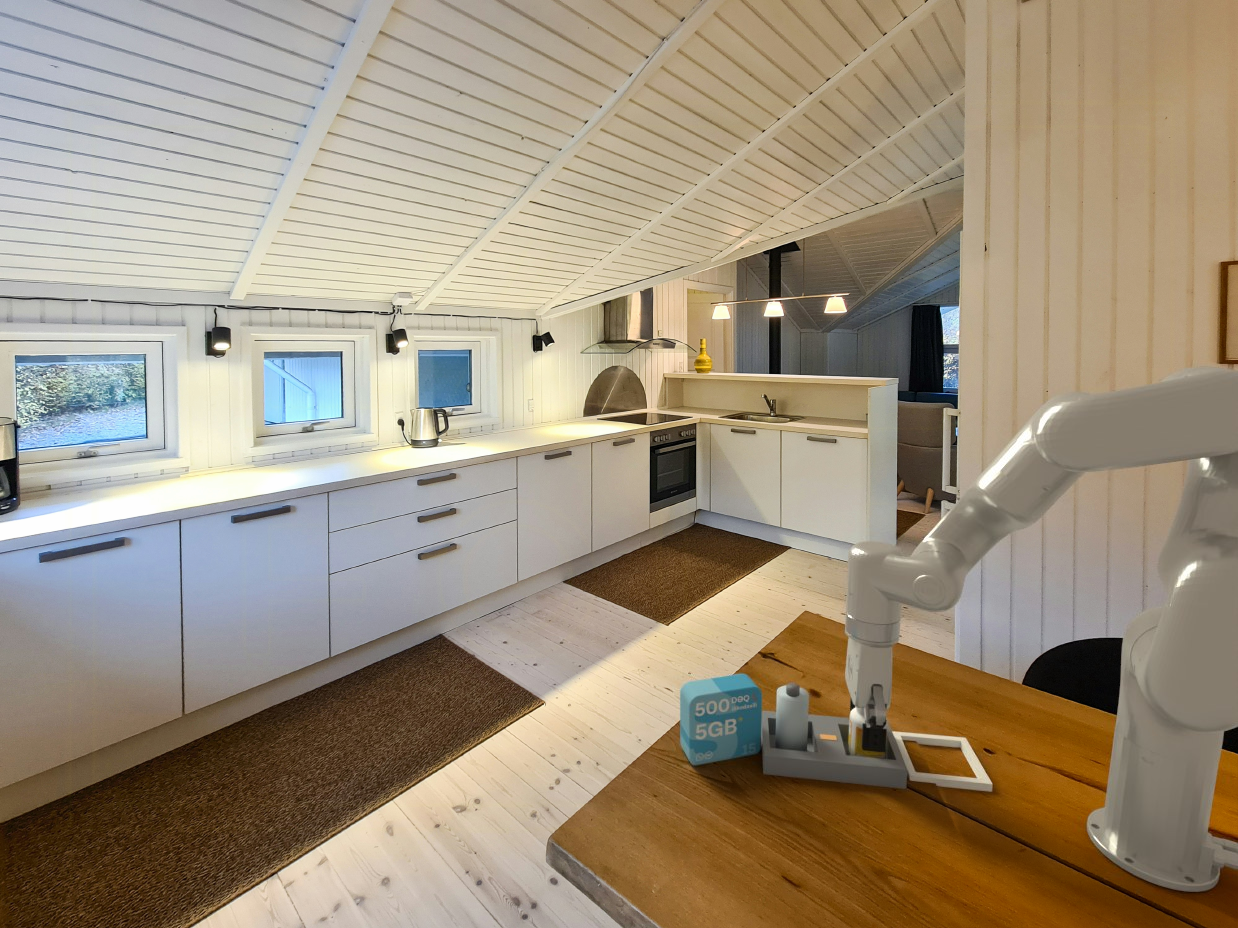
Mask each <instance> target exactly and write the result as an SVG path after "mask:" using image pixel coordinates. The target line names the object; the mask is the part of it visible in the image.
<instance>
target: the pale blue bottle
mask: <svg viewBox="0 0 1238 928" xmlns="http://www.w3.org/2000/svg"><path fill="white" fill-rule="evenodd" d="M809 702H810V695H809V692H808V690H806V689H804V687H801V686H800V685H799V684H798V683H795V682H788V683H786V685H782V686H780V687H778V688H777V689H776V707H775V710H776V711H775V712H776V743H775V748H776V749H786V750H797V751H807V736H808V714H809V707H810V706H809V705H810V703H809Z"/></svg>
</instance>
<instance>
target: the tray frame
mask: <svg viewBox="0 0 1238 928" xmlns="http://www.w3.org/2000/svg"><path fill="white" fill-rule="evenodd" d="M892 733H893V735H894V738H895V740H896V743H897V745H898V748H899V750H900V753H901V755H902V758H903V760H904V763H905V765H906V768H907V778H908V779H909V781H910V782H921V783H931V784H935V786H936V787H943V788H952V789H961V790H972V791H981V792H990V793H991V792H993V782H992V781H991V779H990V777H989V775H988V774H987V773H986V770H985V769H984V767H983V765H982V763H981V762H980V760H979V758H978V756H977V755H976V754H975V752H974V749H973V748H972V746H971V745H970V743H969V741H968V739H967V738H966V737H962V736H951V735H950V736H949V735H939V734H927V733H916V732H904V731H894V730H892ZM904 741H911V742H912V741H913V742H916V743H917V744H918V745H928V746H937V747H939V746H940V747H948V748H949V747H950V748H957V749H958V748H959V749H961V752H962V754H963V755H964V757H965V759H966V760H967V762H968V764H969V766H970V768H971V769H972V771H973V773H974V775H975V777H968V776H960V775H959V776H958V775H946V774H937V773H928V772H917V771H916V770H915V767H914V765H913V763H912V760H911V758H910V755H909V753H908V750H907V749H906V745H905V744H904Z"/></svg>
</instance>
